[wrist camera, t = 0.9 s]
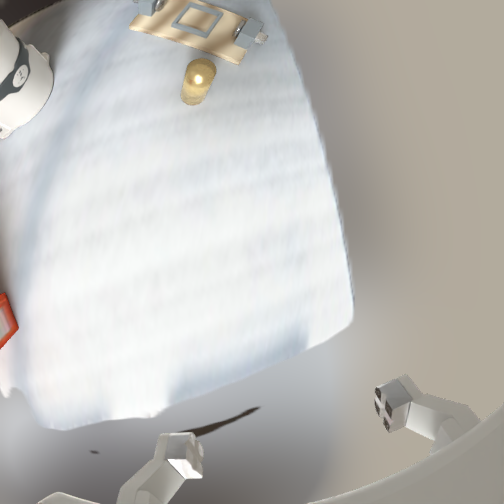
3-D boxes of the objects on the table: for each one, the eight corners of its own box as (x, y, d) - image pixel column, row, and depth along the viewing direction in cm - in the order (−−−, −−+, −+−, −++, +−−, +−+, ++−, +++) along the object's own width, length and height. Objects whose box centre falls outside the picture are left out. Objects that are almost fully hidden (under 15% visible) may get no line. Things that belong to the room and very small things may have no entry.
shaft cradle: (121, 27, 34) (119, 10, 29) (151, -8, 34) (152, -24, 28) (247, 69, 44) (258, 55, 39) (267, 32, 44) (278, 18, 38)
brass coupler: (176, 100, 41) (181, 76, 32) (187, 81, 41) (194, 54, 32) (199, 108, 43) (209, 86, 34) (208, 89, 43) (221, 64, 33)
